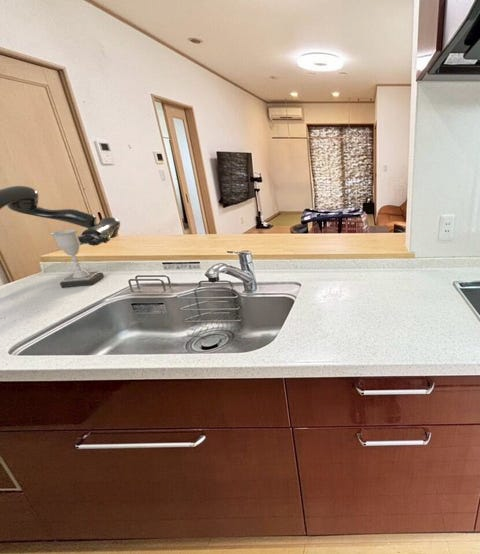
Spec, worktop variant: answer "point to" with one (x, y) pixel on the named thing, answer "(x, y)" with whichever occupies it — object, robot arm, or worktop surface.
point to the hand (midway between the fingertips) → (80, 244)
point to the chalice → (70, 248)
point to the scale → (82, 280)
